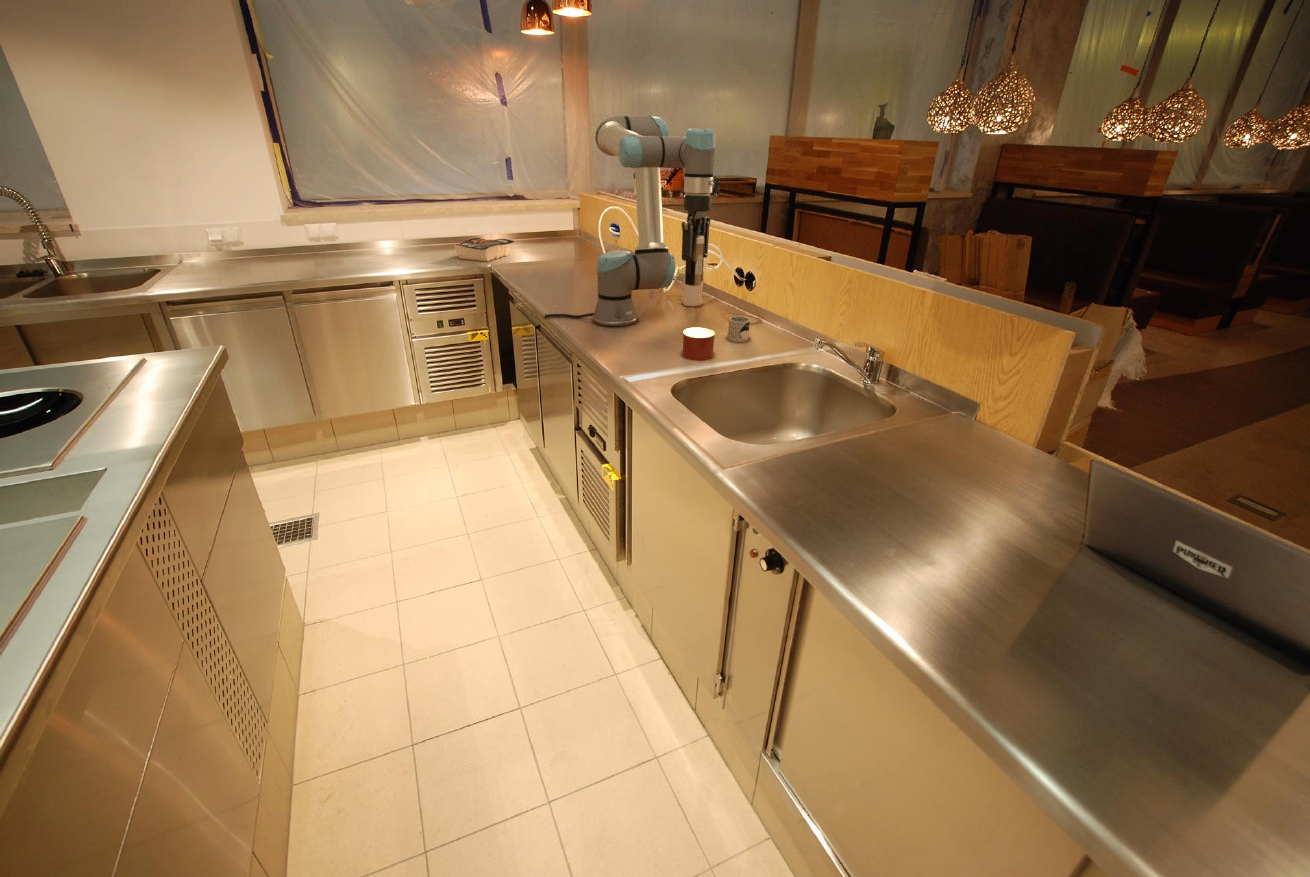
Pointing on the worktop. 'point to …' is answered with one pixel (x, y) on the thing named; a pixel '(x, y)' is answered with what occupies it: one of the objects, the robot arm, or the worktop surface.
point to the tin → (698, 343)
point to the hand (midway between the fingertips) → (693, 282)
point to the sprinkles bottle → (698, 260)
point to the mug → (738, 329)
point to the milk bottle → (692, 294)
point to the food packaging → (483, 249)
